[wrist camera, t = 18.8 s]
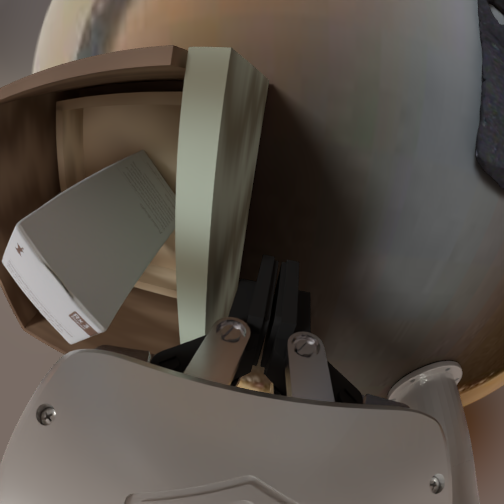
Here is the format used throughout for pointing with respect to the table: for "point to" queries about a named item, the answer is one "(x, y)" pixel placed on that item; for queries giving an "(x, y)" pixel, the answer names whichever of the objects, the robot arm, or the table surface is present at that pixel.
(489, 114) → the black tote bag
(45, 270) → the skincare box
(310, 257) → the table surface
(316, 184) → the table surface
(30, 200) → the walnut box
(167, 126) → the pull-out wooden drawer
